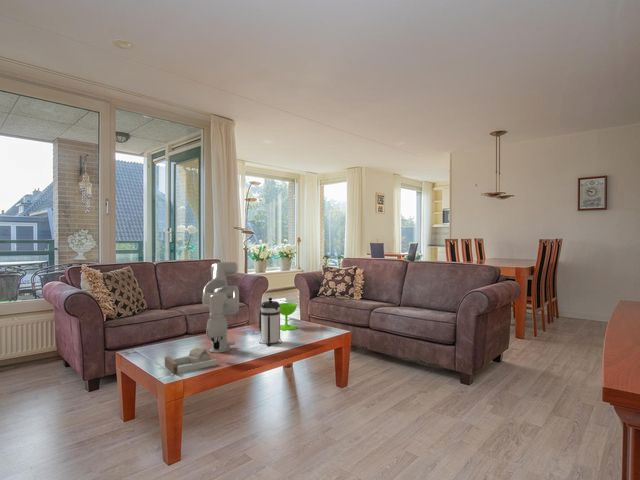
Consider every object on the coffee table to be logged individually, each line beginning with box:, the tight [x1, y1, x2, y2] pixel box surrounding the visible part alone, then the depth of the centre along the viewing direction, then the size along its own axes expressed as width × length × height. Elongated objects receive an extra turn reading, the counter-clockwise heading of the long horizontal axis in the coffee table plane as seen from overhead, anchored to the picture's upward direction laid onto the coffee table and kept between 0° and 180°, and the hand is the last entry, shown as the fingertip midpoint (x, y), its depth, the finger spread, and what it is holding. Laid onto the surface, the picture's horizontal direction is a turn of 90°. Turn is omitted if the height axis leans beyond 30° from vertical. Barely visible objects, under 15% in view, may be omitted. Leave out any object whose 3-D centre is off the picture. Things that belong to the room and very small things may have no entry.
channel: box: [164, 355, 218, 375], centre depth 205 cm, size 23×16×5 cm
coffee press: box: [258, 297, 283, 347], centre depth 249 cm, size 17×16×30 cm
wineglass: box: [279, 302, 298, 332], centre depth 290 cm, size 16×16×18 cm
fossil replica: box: [188, 347, 211, 364], centre depth 207 cm, size 12×8×10 cm
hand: (216, 349), depth 212 cm, fingers closed
